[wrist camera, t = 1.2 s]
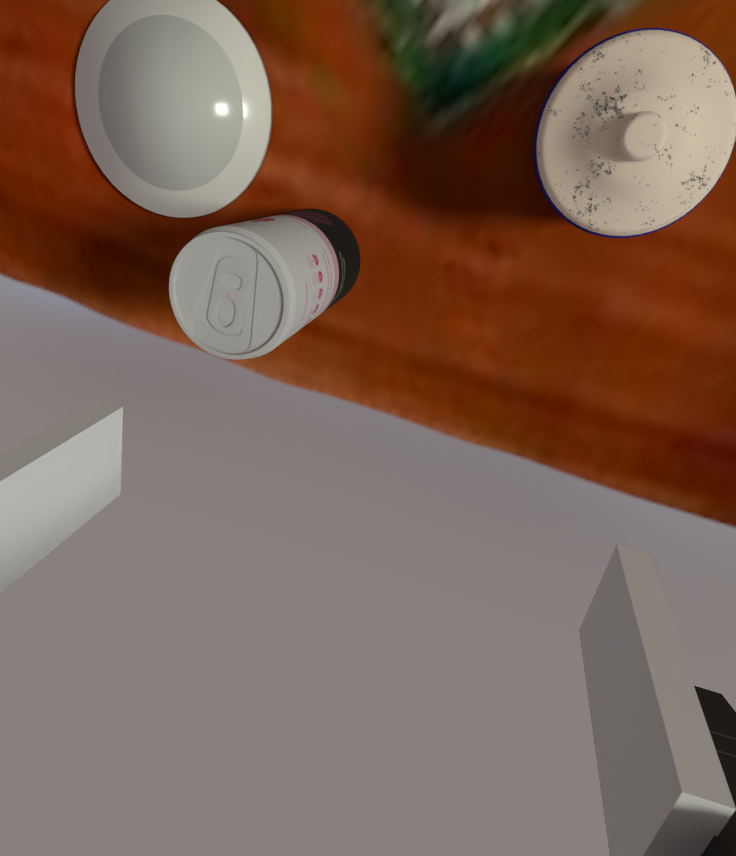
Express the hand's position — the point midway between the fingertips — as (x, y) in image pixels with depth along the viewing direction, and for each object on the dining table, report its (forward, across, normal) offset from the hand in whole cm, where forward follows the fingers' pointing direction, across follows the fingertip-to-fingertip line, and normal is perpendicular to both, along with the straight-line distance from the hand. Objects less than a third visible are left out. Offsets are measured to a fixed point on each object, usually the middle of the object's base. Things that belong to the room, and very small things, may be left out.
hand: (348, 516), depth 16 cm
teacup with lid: (+30, +8, +12) cm, 33 cm away
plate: (+30, -21, +8) cm, 37 cm away
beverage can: (+30, -10, +1) cm, 31 cm away
